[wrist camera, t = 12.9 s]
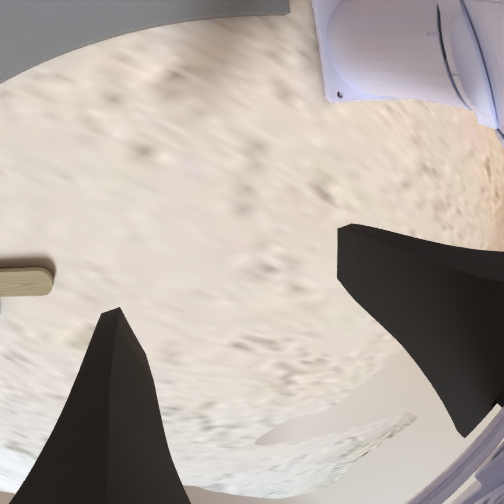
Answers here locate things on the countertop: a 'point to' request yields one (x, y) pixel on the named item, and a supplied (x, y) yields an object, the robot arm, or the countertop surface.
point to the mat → (99, 23)
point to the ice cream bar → (25, 282)
